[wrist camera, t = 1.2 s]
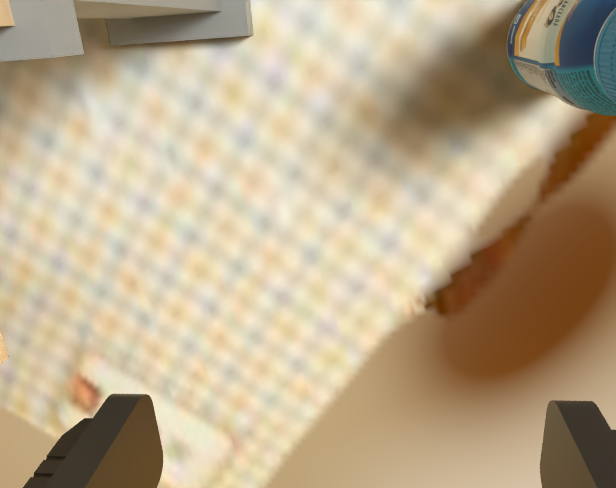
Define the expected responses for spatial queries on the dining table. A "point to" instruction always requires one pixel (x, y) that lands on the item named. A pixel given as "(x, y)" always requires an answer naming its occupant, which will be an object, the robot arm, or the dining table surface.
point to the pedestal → (117, 24)
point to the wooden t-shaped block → (3, 17)
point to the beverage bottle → (567, 51)
